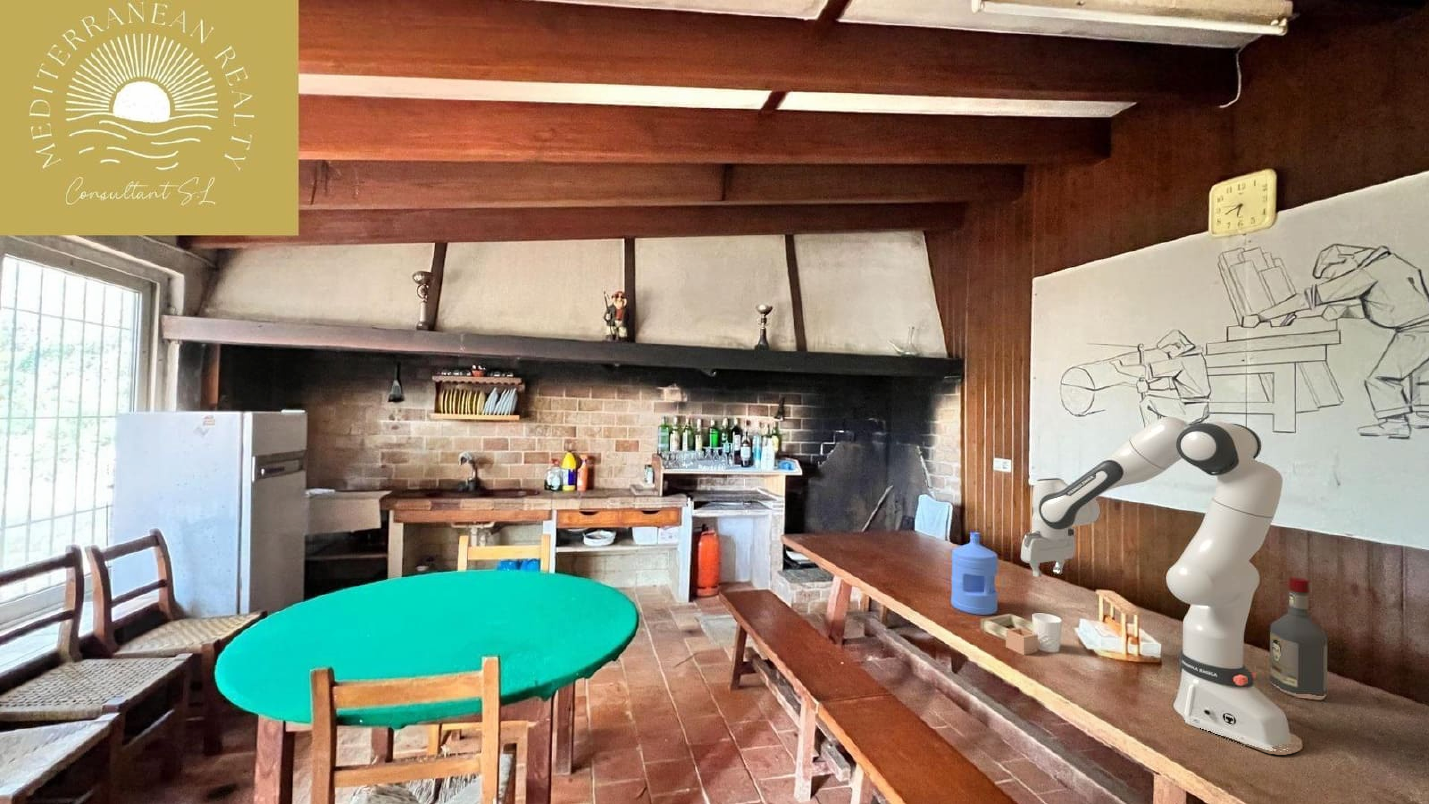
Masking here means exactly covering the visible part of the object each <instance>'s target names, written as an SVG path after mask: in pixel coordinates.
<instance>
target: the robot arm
mask: <svg viewBox="0 0 1429 804" xmlns="http://www.w3.org/2000/svg"><path fill="white" fill-rule="evenodd" d="M1261 450H1262V441H1261V439H1260V437H1259V435H1258V434H1257V433H1256V432H1255V431H1254V430H1252V429H1251V428H1250V427H1247V426H1245V425H1242V424H1239V423H1227V422H1222V421H1221V422H1220V421H1214V422H1213V421H1212V422H1211V421H1210V422H1201V423H1195V424H1193V425H1190V424H1188V423H1187V422H1186V421H1184V420H1182V419H1180V418H1177V417H1174V416H1165V417H1161V418H1159V419H1157V420H1155V421H1153V422H1151V423H1150V424H1148V425H1146V426H1144V427H1143V428H1142V429H1140V430H1138V431H1137V432H1136V433H1134V435H1132V436H1131V437H1130V438H1128V439H1127V440H1126V441H1125V442H1124V443H1122V445H1120V446H1118V448H1117V449H1115V450H1114V451H1113V452H1112V453H1111V454H1110V455H1108V456H1107V457H1105V458H1104V459H1103V460H1102V461H1101V462H1100V463H1098V464H1097V465H1096V466H1095V467H1093V468H1092V469H1090V470H1088V472H1086V473H1085V474H1084V475H1082V476H1081V477H1079V478H1078V479H1076V480H1075V481H1073V482H1072V483H1071V484H1068V483H1066V481H1065V480H1063V478H1058V477H1054V478H1053V477H1052V478H1039V479H1037V480H1036V481H1035V482H1034V485H1033V487H1032V494H1031V495H1032V497H1031V498H1032V499H1031V507H1032V511H1033V513H1032V517H1031V531H1030V532H1026V534H1025V536H1024V537H1023V540H1022V542H1021V550H1020V559H1021V561H1022V562H1024V563H1026V564H1029V566H1030V568H1031V570H1032V576H1033V577H1036V578H1040V577H1042V571H1041V570H1040V563H1046V562H1047V563H1048V562H1055V566H1053V573H1054V574H1057V575H1061V574H1063V567H1064V565H1065V563H1066V560H1069V559H1073V557H1074V556H1075V551H1076V539H1075V536H1076V533H1077V531H1076V529H1075V528H1074V527H1080V526H1085V525H1089V524H1093V523H1095V522H1097V521H1098V520H1099V518H1100V516H1101V513H1102V512H1101V511H1102V510H1101V505H1100V503H1099V501H1098V499H1096V498H1098V497H1099V496H1100V495H1103V494H1104V493H1106V492H1108V491H1110V490H1114V489H1115V488H1119V487H1124V486H1129V485H1130V486H1131V485H1134V484H1140V483H1144V482H1147V481H1149V480H1151V479H1154V478H1155V477H1157V476H1159V475H1161V474H1162V473H1165V472H1166V471H1167V470H1168V469H1169V468H1170V467H1172V466H1174V465H1175V464H1176V463H1177V462H1179V461H1180V460H1184V461H1186V462H1187V463H1188V464H1190V465H1192V466H1193V467H1196V468H1198V469H1199V470H1201V471H1202V472H1204V473H1205V474H1207V475H1208V476H1216V478H1217V482H1216V487H1215V488H1214V489H1215V490H1214V491H1213V494H1212V497H1211V500H1210V503H1209V505H1208V507H1207V510H1206V512H1205V514H1204V517H1203V520H1202V522H1201V524H1200V527H1199V528H1198V530H1197V531H1196V534H1195V535H1194V536H1193V537H1192V539H1191V541H1190V542H1189V544H1188V545H1187V546H1186V547H1185V549H1184V551H1183V553H1182V554H1181V555H1180V557H1179V559H1178V560H1177V561H1176V562H1175V563H1174V564H1173V565H1172V566H1171V567H1170V568H1169V569H1168V571H1167V573H1166V578H1165V579H1166V580H1165V581H1166V586H1167V587H1168V589H1169V591H1170V592H1171V593H1172V595H1173V596H1175V598H1176V599H1178V600H1180V601H1181V602H1183V603H1186V604H1188V605H1190V607H1189V609H1188V611H1187V612H1186V614H1185V616H1184V618H1183V622H1182V649H1181V651H1180V652H1179V653H1180V657H1179V670H1180V673H1181V674H1180V675H1181V676H1180V683H1179V687H1178V692H1177V695H1176V699H1175V701H1174V703H1173V708H1174V710H1175V711H1176V713H1178V714H1179V715H1181V717H1182V718H1183V721H1184V720H1185V721H1184V722H1185V723H1186V724H1187V725H1189V726H1192V727H1193V728H1194V727H1195V728H1197V729H1200V728H1201V729H1200V730H1202V729H1204V730H1203V731H1205V730H1207V731H1206V732H1208V731H1211V732H1213V733H1215V734H1218V735H1221V736H1226V737H1229V738H1232V739H1235V740H1237V741H1240V742H1242V743H1244V744H1249V745H1252V746H1255V747H1259V748H1262V749H1265V750H1269V751H1273V750H1274V751H1276V749H1273V748H1272V747H1273V746H1279V747H1282V746H1285V745H1283V744H1293V743H1294V742H1290V740H1291V739H1290V738H1291V737H1290V733H1289V732H1290V728H1289V722H1288V719H1287V718H1288V717H1287V716H1286V714H1285V712H1284V711H1283V709H1281V708H1280V707H1279V706H1278V705H1277V704H1275V702H1274V701H1272V700H1271V699H1270V698H1268V697H1267V695H1265V694H1264V693H1263V692H1262V691H1261V690H1260V689H1258V687H1256V686H1255V685H1254V679H1256V678H1257V677H1258V676H1257V671H1253V672H1250V671H1249V670H1248V668H1247V667H1246V666H1245V664H1244V643H1245V641H1244V640H1245V639H1244V637H1245V632H1246V631H1245V630H1246V624H1247V621H1248V617H1249V613H1250V610H1251V606H1252V601H1253V598H1254V594H1255V592H1256V590H1257V588H1258V586H1259V584H1260V582H1261V581H1260V579H1261V578H1260V575H1259V571H1258V569H1257V568H1256V566H1254V565H1253V563H1252V562H1251V561H1250V560H1251V559H1252V558H1253V556H1254V555H1255V554H1256V553H1257V552H1258V551H1259V550H1260V549H1261V548H1262V546H1263V545H1264V541H1265V539H1266V536H1267V534H1268V532H1269V530H1270V527H1271V525H1272V522H1273V520H1274V518H1275V515H1276V512H1277V509H1278V507H1279V504H1280V501H1281V500H1280V499H1281V494H1282V488H1283V476H1282V474H1281V473H1280V471H1278V470H1277V469H1276V468H1274V467H1273V466H1271V465H1269V464H1267V463H1264V462H1261V461H1258V460H1257V458H1258V456H1259V455H1260V454H1261V452H1262V451H1261ZM1213 733H1212V734H1213ZM1215 734H1214V735H1215ZM1218 735H1217V736H1218ZM1221 736H1220V737H1221ZM1294 744H1299V743H1297V742H1296V743H1294ZM1287 749H1289V748H1287ZM1283 750H1286V749H1283ZM1287 751H1288V750H1287ZM1280 752H1282V751H1280Z"/></svg>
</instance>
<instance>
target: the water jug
mask: <svg viewBox="0 0 1429 804" xmlns="http://www.w3.org/2000/svg"><path fill="white" fill-rule="evenodd" d="M969 533H970V537H969V539H970V542H969V543H966V544H963V545H960V546H957V547H954V548H953V549H952V551H951V552H952V553H951V578H950V579H951V581H950V582H951V596H950V602H951V606H952V607H953V608H955V609H956V610H958V611H961V612H963V613H966V614H971V615H979V616H989V615H993V614H995V613H996V612H997V611H998V592H997V590H996V587H995V586H996V585H995V580H996V579H995V578H996V577H995V576H996V575H997V574H998V567H999V560H998V556H999V555H998V554H997V553H996V552H995V551H993V550H991V549H989V548H987V547H986V546H983V545H982V544H981V543H980V534H981V533H980V532H976V531H970V532H969Z"/></svg>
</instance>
